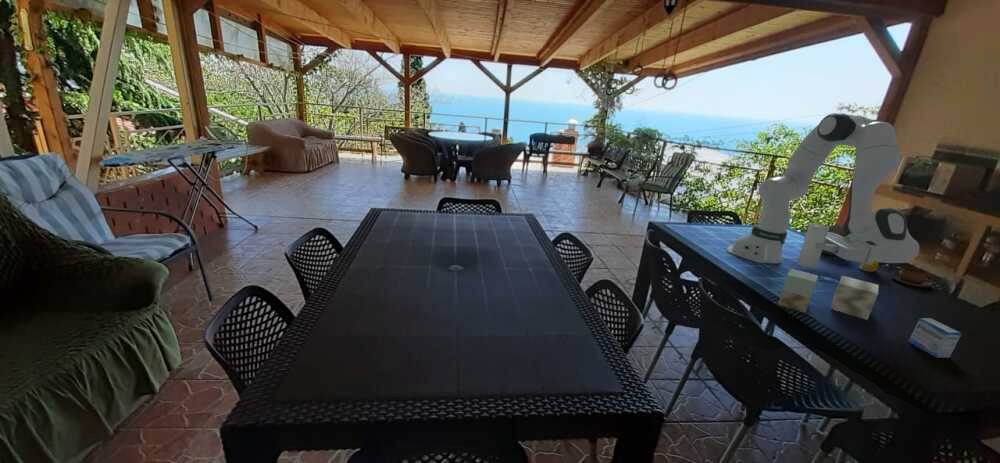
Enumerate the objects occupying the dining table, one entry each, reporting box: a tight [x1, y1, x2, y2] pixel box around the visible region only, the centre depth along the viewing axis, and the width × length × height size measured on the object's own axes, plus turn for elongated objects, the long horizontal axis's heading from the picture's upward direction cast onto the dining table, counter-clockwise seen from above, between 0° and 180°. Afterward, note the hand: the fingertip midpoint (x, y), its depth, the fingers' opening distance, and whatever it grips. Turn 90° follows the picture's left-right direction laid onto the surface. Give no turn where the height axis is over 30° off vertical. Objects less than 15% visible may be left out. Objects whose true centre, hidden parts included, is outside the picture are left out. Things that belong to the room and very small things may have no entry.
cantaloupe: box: [821, 224, 846, 256], centre depth 189 cm, size 14×14×15 cm
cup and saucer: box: [891, 266, 936, 288], centre depth 163 cm, size 12×12×6 cm
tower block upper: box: [782, 268, 819, 298], centre depth 137 cm, size 8×8×6 cm
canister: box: [797, 223, 829, 268], centre depth 133 cm, size 5×5×14 cm
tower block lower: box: [778, 289, 814, 314], centre depth 139 cm, size 8×8×6 cm
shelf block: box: [829, 275, 879, 321], centre depth 137 cm, size 10×10×10 cm
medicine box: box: [908, 317, 963, 359], centre depth 115 cm, size 8×4×9 cm, turn 5°
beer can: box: [858, 260, 880, 273], centre depth 173 cm, size 6×6×15 cm
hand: (811, 242), depth 132 cm, fingers closed on canister, 5 cm apart
